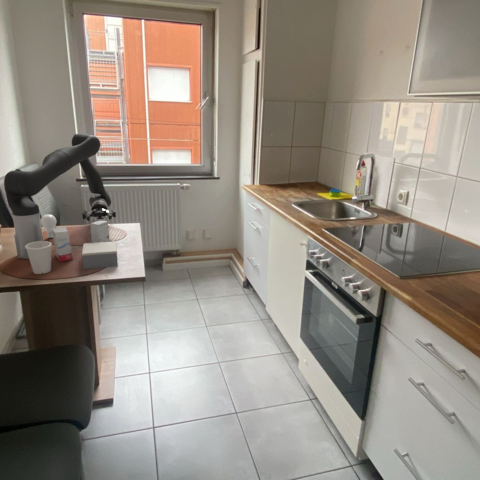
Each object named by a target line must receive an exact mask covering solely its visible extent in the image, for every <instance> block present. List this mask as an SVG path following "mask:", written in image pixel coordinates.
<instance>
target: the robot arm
mask: <svg viewBox="0 0 480 480" xmlns="http://www.w3.org/2000/svg"><path fill="white" fill-rule="evenodd" d="M100 149H101V140H100V139H99V138H98V137H97V136H95V135H92V134H87V133H86V134H85V133H76V134H73V136H72V138H71V146H67V147H66V146H65V147H62V148H59V149H56V150H54V151H52V152H50V153H48V154H47V155H46V156H45V157H44V159H43V160H42V164H41V166H39V167H38V168H36V169H34V170H30V171H23V170H10V171H8V172H7V173H6V174H5V175H4V179H3V186H4V187H3V188H4V192H5V196H6V201H7V205H8V208H9V209H10V211H11V214H12V220H13V227H14V228H13V229H14V235H13V236H14V237H13V238H14V242H15V248H16V253H17V254H16V255H17V259H24V260H30V259H29V256H28V253H27V249H26V248H25V246H26V245H27V244H29V243H32V242H37V241H45V239H44V236H43V234H44V233H43V228H42V227H43V226H42V224H41V214H40V207H39V205H38V204H37V203H35V202H34V201H32V200H31V199H30V198H29V197H33V196H35V195H36V196H37V194H39V193H40V192H41V191H43V189H44V188H45V187H47V186H48V185H49V184H50V183H51V182H53V181H54V180H56V179H58V177H60V176H61V175H64V173H67V172H68V171H69V170H71V169H72V168H73V167H75V166H77V165H80V167H81V169H82V171H83V173H84V176H85V180H86V183H87V186H88V190H89V192H90V193H91V194H94V195H92V196H90V197H89V199H88V202H89V206H90V207H91V208H90V210H89V211H87V210H82V213H81V216H82V220H86V221H88V222H91V220H94V219H97V220H103V219H105V218H106V219H108V221H110V220H112V219H113V218H117V214H116V213H117V211H116V209H115V208H112V209H111V210H109V207H110V206H111V205H112V198H111V197H110V195H109V194H108V192H107V190H106V189H105V185H104V182H103V178H102V176H101V174H100V172H99V170H98V169H97V167H95V165H94V164H93V163H92V161H91V160H90V158H91V157H94V156H95V155H96V154H98V153H99V151H100Z"/></svg>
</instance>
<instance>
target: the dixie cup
mask: <svg viewBox="0 0 480 480" xmlns="http://www.w3.org/2000/svg"><path fill="white" fill-rule="evenodd" d="M52 245H53V244H52V242H50V241H48V240H44V241H37V242H32V243H29V244H27V245H26V246H25V248H26V249H27V253H28V256H29V259H28V260H29V262H30V265H31V269H32V272H33V274H35V275H36V274H37V275H41V274H42V273H43V274H46V273H49V272H51V271H52ZM43 274H42V275H43Z"/></svg>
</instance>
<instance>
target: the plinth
mask: <svg viewBox="0 0 480 480" xmlns="http://www.w3.org/2000/svg"><path fill="white" fill-rule="evenodd" d="M81 253H82V254H81V258H82V267H83V270H88V269H89V268H90V269H98V268H99V269H101V268H110V267H111V268H112V267H118V264H119V263H118V262H119V261H118V251H117V240H116V241H115V240H113V241H112V240H111V241H110V242H97V243H92V242H86V243H83V246H82V252H81Z"/></svg>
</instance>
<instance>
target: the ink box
mask: <svg viewBox="0 0 480 480" xmlns="http://www.w3.org/2000/svg"><path fill="white" fill-rule="evenodd" d="M52 232H53V238H52V239H53V245H54V251H55V252H54V253H55V256H56V258H57V259H58V262H65V261H66V262H67V261H71V260H73V253H72V248H71V247H72V246H71V239H70V234H69V230H68V229H67V227H66V225H64V226H63V225H61V226H55V227H53V228H52Z"/></svg>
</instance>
